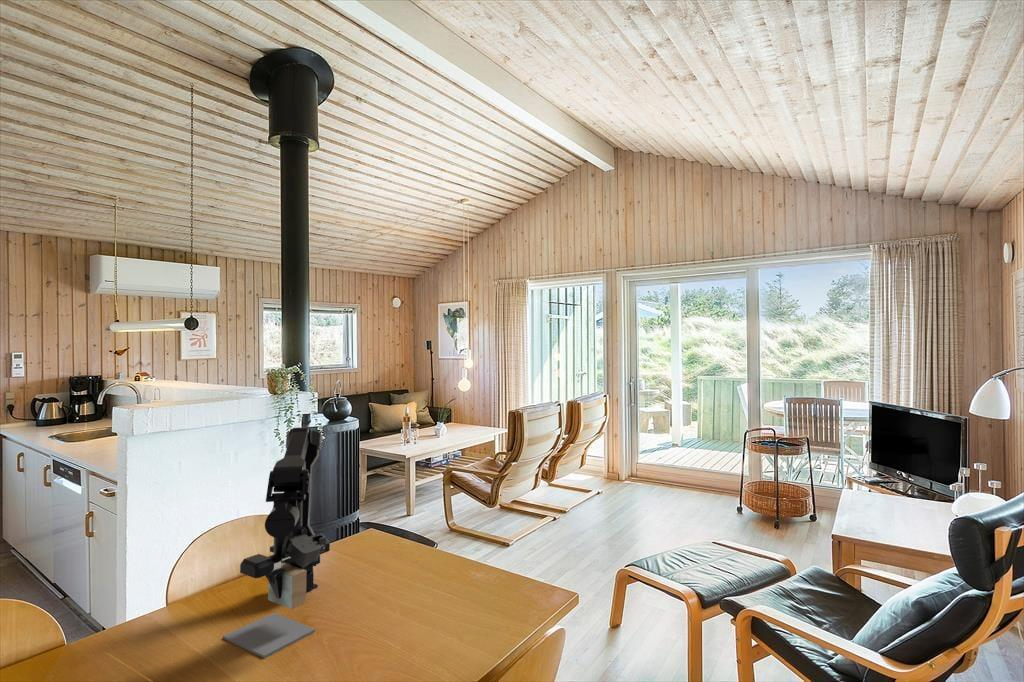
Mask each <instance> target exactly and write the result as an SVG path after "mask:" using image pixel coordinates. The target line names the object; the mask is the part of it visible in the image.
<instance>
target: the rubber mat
mask: <svg viewBox="0 0 1024 682" xmlns="http://www.w3.org/2000/svg"><path fill="white" fill-rule="evenodd" d="M315 632H316V628H313V627H310V626H308V625H306V624H303V623H301V622H298V621H296V620H294V619H291V618H288V617H286V616H284V615H281V614H279V613H276V612H273V613H271V614H268V615H265V616H264V617H261V618H260V619H258V620H255V621H253V622H250V623H249V624H246V625H244V626H242V627H239V628H237V629H235V630H233V631H231V632H228V633H226V634H224V635H222V639H224V640H225V641H227V642H229V643H232V644H233V645H236V646H238V647H239V648H242V649H244V650H246V651H248V652H250V653H252V654H254V655H256V656H258V657H260V658H262V659H266V658H268V657H270V656H272V655H274V654H275V653H277V652H279V651H281V650H283V649H285V648H286V647H289V646H290V645H292V644H294V643H296V642H298V641H300V640H302V639H304V638H306V637H308V636H309V635H312V634H314V633H315Z"/></svg>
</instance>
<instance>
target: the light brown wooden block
mask: <svg viewBox="0 0 1024 682" xmlns="http://www.w3.org/2000/svg"><path fill="white" fill-rule="evenodd" d="M281 568H283V569H286V570H285V572H284V573H283V575H282V594H281V598H280V599H278V598H277V597H276V596H275V594H274V591H273V589H272V587H271V585H270V583H269V582H268V589H267V590H268V591H267V592H268V594H267V595H268V597H267V600H268V601H270V602H273V603H275V604H278V605H280V606H281V607H282V606H283V607H284V608H288V609H290V610H294V609H296V608H298V607H300V606H303V605H305V604H306V603H307V592H306V576H307V570H304V569H301V568H298V567H295V566H292V565H289V564H286V563H281Z"/></svg>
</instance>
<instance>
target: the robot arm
mask: <svg viewBox="0 0 1024 682" xmlns="http://www.w3.org/2000/svg"><path fill="white" fill-rule="evenodd" d="M285 440H286V441H285V448H286V450H285V453H284V456H283V458H281V459H279V460H277V461H276V462H275V464H274V466H273V468H272V470H271V471H270V472H269V476H268V483H267V489H266V495H265V503H269V502H270V503H272V502H273V504H272V505H273V506H272V510H270V512H269V514H268V515H267V517H266V519H265V520H264V521H265V522H264V529H265V531H266V532H267V534H268V535H269V536H270V537H272V538H273V545H272V546H269V553H273V554H272V555H268V556H266V555H263V554H261V553H257V554H254V555H251V556H249V557H245V558H243V560H241V562H240V566H239V573H240V574H242V575H245V576H247V577H250V578H253V579H260V578H263V577H265V578H266V579H267V581H268V584H269V583H270V585H271V587H272V589H273V591H274V594H275V596H276V597H277V598H278V599H280V598H281V594H282V575H283V573H284V572H285V570H286V569H283V568H281V563H286V564H289V565H292V566H295V567H298V568H301V569H304V570H307V576H306V593H308V592H310V591H312V590H314V589H316V588H318V587H319V585H318V584H317V583H315V581H314V576H315V575H314V574H315V573H314V567H317V565H319V564H321V555H322V554H326V553H328V552H330V550H331V542H330V541H329V539H328V538H327V536H326V535H325V534H323V533H320V534H317V535H316V533H315V532H314V530H313V528H312V526H311V525H310V521H311V520H310V515H311V499H312V498H311V497H312V495H311V494H312V481H313V480H312V479H313V478H312V477H313V466H314V465H315V464H316V461H317V460H318V458H319V457H320V451H322V448H323V447H322V446H323V436H322V434H321V432H319V431H315V430H313V429H312V428H311V427H309V426H308V427H306V426H305V427H302V426H301V427H293V428H290V430H289V432H287V433H286V439H285Z"/></svg>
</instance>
